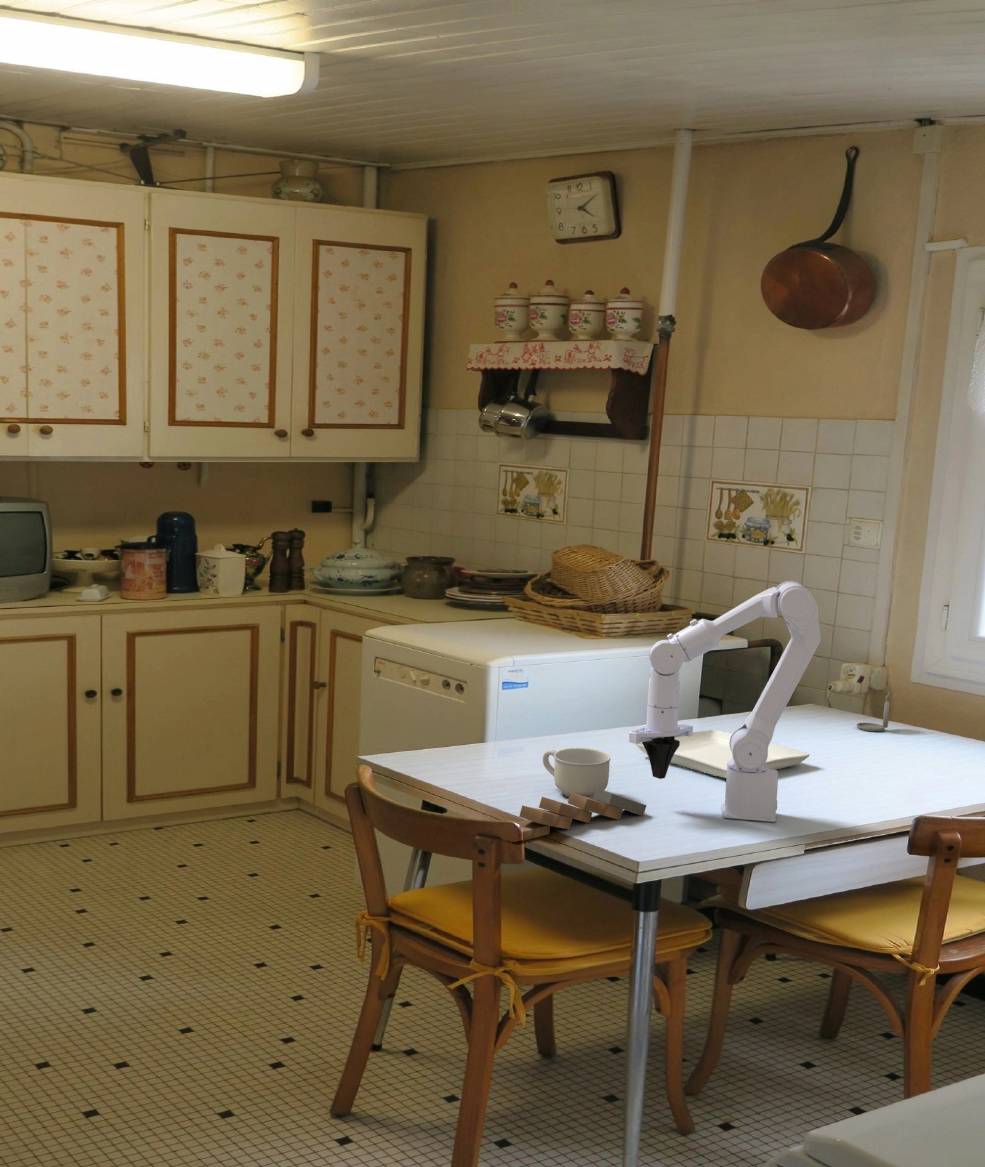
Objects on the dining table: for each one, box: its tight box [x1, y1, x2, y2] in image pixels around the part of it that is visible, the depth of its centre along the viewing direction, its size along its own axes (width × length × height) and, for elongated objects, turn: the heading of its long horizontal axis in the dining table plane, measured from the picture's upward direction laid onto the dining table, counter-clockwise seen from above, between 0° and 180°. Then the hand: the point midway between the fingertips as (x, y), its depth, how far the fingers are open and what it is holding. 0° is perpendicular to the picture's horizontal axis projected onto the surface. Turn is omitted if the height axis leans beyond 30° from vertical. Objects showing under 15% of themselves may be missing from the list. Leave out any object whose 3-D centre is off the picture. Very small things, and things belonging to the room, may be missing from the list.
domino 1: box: [518, 805, 573, 830], centre depth 219 cm, size 2×5×9 cm
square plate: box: [635, 729, 811, 779], centre depth 274 cm, size 27×27×4 cm
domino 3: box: [538, 796, 593, 824], centre depth 223 cm, size 2×5×9 cm
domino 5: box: [592, 788, 647, 817], centre depth 230 cm, size 2×5×9 cm
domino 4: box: [567, 793, 624, 821], centre depth 227 cm, size 2×5×9 cm
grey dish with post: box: [856, 691, 891, 732], centre depth 314 cm, size 8×8×10 cm
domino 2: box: [514, 819, 551, 842], centre depth 216 cm, size 2×5×9 cm
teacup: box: [542, 747, 611, 799], centre depth 244 cm, size 14×11×8 cm
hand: (658, 777), depth 236 cm, fingers closed
